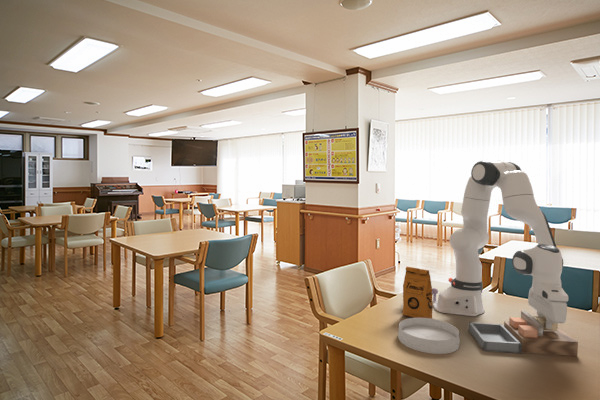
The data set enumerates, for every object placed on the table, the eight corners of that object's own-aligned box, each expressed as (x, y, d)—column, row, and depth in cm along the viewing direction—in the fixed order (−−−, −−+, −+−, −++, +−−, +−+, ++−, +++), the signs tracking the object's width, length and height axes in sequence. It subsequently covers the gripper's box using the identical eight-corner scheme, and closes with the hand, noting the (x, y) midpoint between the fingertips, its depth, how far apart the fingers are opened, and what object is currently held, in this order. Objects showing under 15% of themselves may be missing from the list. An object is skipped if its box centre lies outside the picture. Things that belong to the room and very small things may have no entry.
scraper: (538, 335, 131) (538, 324, 131) (520, 320, 145) (521, 310, 145) (566, 337, 130) (566, 326, 130) (545, 322, 144) (546, 312, 143)
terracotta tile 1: (523, 336, 132) (524, 329, 132) (518, 331, 137) (518, 325, 137) (537, 337, 132) (537, 330, 132) (531, 332, 136) (531, 325, 136)
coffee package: (425, 324, 157) (426, 272, 155) (399, 316, 165) (400, 267, 164) (436, 318, 163) (437, 268, 162) (410, 310, 172) (411, 264, 171)
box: (483, 350, 132) (483, 341, 132) (468, 330, 150) (468, 322, 150) (521, 353, 130) (521, 343, 130) (501, 332, 148) (501, 324, 148)
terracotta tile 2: (514, 327, 140) (514, 321, 140) (509, 323, 145) (509, 317, 145) (526, 328, 140) (527, 322, 140) (521, 324, 144) (521, 317, 144)
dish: (429, 359, 126) (429, 345, 126) (385, 335, 145) (386, 322, 145) (473, 346, 136) (473, 333, 136) (427, 325, 156) (427, 314, 155)
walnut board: (521, 352, 131) (522, 338, 131) (503, 333, 147) (504, 321, 147) (577, 356, 129) (578, 342, 128) (553, 336, 144) (553, 324, 144)
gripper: (524, 281, 147) (522, 315, 148) (551, 297, 127) (549, 336, 128) (541, 281, 146) (539, 316, 147) (571, 298, 126) (569, 338, 127)
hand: (544, 325), depth 137 cm, fingers closed on scraper, 3 cm apart
